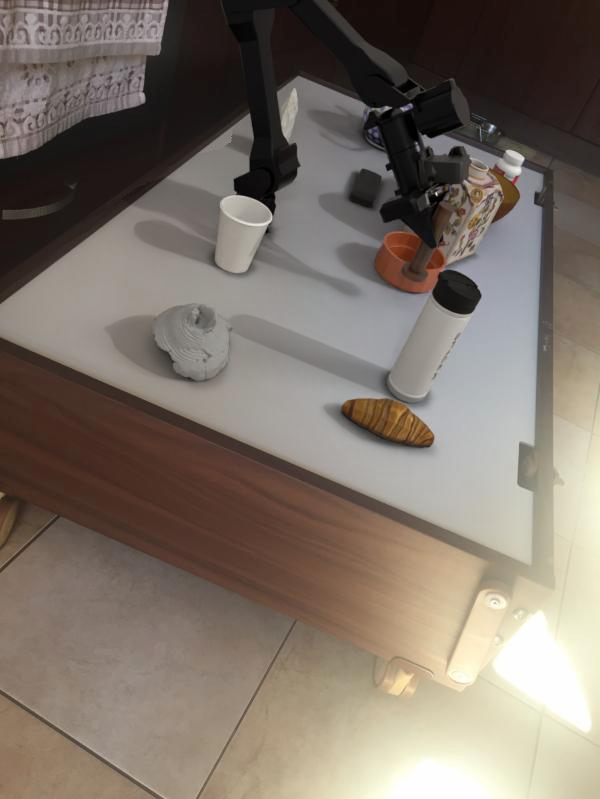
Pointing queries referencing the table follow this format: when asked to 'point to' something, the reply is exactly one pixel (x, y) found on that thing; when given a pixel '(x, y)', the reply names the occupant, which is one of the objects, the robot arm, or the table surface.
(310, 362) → the table surface
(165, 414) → the table surface
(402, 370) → the travel mug
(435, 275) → the orange round container
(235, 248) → the dixie cup
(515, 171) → the pill bottle
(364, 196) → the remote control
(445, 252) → the decorative jar
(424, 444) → the croissant
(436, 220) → the brown flanged peg
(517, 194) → the bowl
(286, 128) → the stone tool
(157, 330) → the grey clay mound
